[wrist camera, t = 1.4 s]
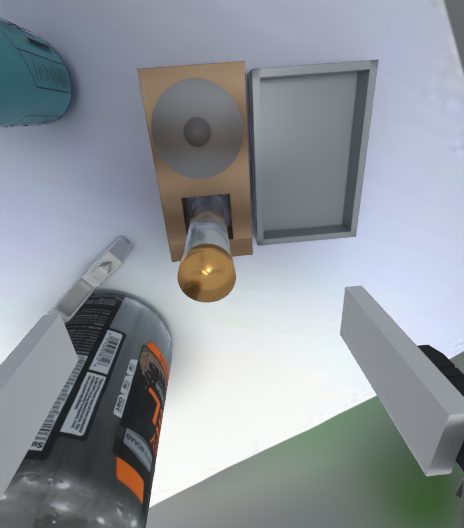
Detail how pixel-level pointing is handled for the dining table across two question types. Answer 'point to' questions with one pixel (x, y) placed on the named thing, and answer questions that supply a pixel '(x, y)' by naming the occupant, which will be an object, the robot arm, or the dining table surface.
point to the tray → (309, 149)
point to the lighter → (92, 279)
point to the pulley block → (199, 144)
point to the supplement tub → (98, 425)
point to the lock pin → (207, 253)
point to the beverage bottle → (30, 79)
